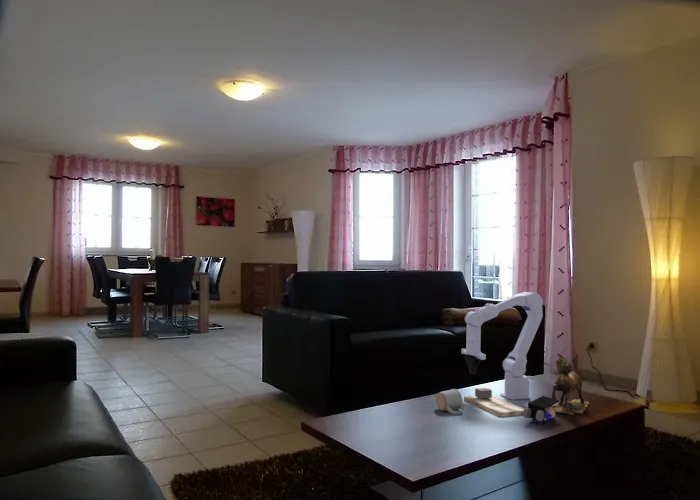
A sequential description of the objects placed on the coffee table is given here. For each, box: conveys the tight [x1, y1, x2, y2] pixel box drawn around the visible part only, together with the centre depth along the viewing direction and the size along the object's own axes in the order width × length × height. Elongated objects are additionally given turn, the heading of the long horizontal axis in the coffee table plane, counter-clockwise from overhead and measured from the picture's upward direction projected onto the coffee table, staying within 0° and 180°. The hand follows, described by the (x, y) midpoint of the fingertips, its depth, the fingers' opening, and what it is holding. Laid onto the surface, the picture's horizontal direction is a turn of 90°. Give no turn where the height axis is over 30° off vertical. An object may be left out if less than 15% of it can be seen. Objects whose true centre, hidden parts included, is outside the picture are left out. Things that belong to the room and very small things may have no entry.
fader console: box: [463, 395, 525, 418], centre depth 197 cm, size 12×23×2 cm, turn 21°
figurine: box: [551, 352, 590, 416], centre depth 199 cm, size 13×25×20 cm, turn 136°
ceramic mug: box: [435, 388, 464, 415], centre depth 191 cm, size 10×8×7 cm
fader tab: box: [474, 387, 493, 399], centre depth 204 cm, size 5×4×3 cm
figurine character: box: [522, 395, 560, 427], centre depth 180 cm, size 7×8×15 cm
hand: (472, 374), depth 211 cm, fingers closed
